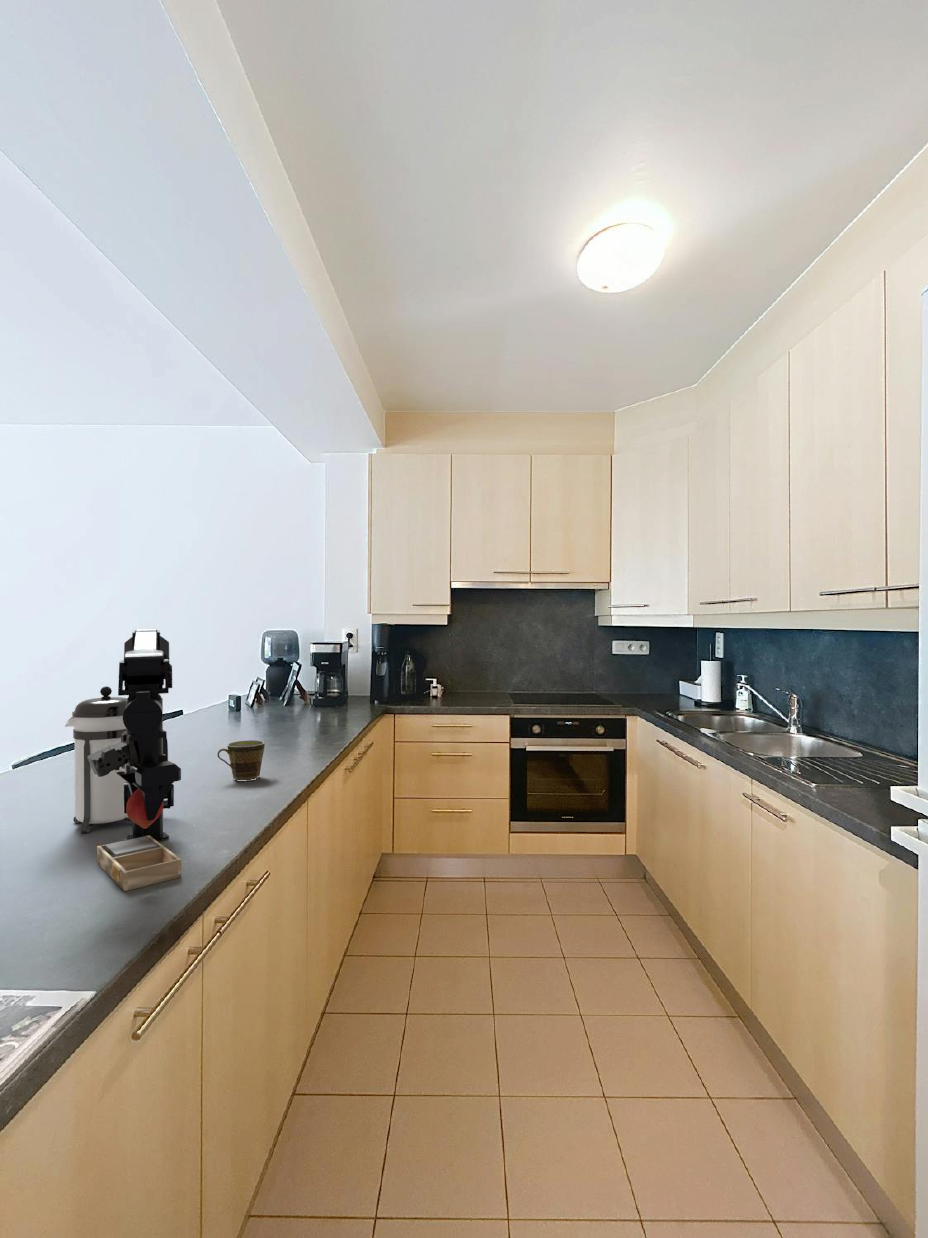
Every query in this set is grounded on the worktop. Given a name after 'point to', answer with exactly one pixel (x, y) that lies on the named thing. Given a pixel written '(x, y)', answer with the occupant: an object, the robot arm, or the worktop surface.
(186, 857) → the worktop surface
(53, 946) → the worktop surface
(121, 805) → the coffee press
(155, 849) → the wooden compartment tray
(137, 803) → the red rounded piece
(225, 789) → the worktop surface
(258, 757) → the ceramic cup
